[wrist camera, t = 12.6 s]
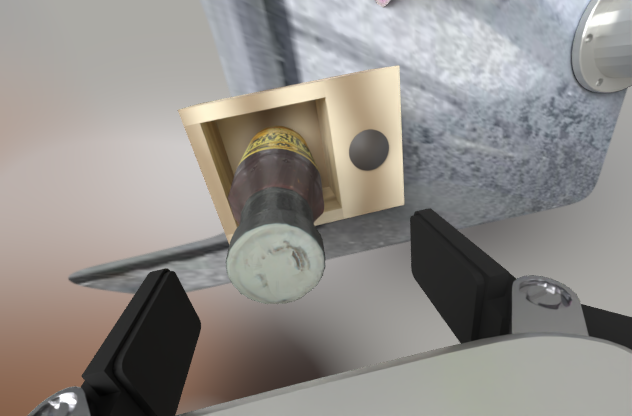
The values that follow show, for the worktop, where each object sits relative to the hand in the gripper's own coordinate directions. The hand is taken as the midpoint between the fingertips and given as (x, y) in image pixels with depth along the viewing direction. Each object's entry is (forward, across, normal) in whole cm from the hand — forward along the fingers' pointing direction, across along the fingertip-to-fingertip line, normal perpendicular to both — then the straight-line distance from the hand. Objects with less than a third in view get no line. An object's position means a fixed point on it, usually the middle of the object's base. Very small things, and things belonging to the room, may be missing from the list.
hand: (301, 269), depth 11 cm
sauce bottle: (+20, +1, 0) cm, 20 cm away
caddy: (+21, -2, 0) cm, 21 cm away
